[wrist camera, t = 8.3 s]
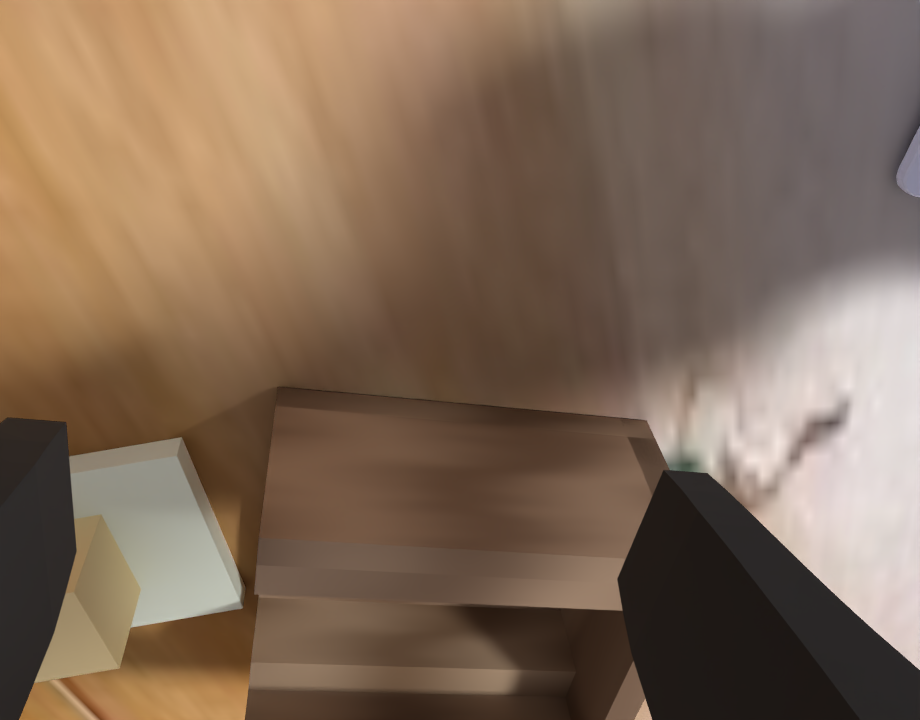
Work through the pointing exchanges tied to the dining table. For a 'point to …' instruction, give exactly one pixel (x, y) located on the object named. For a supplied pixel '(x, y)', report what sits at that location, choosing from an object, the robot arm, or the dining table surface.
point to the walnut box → (446, 561)
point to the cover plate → (137, 555)
